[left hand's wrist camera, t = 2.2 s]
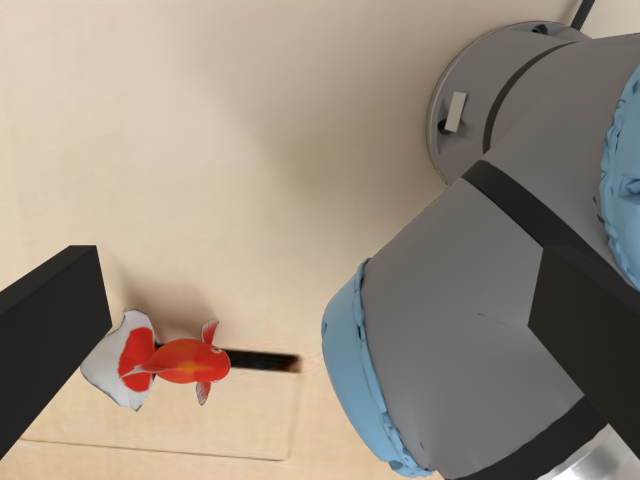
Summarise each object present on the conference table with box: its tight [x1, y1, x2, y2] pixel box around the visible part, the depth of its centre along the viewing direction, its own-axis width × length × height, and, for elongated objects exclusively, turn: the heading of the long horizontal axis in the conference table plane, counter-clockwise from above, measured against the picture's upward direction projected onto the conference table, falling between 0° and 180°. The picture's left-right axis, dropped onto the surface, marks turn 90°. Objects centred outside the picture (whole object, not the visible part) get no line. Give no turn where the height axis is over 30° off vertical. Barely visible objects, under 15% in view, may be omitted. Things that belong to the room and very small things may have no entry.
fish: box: [80, 308, 230, 412], centre depth 41 cm, size 11×16×10 cm
